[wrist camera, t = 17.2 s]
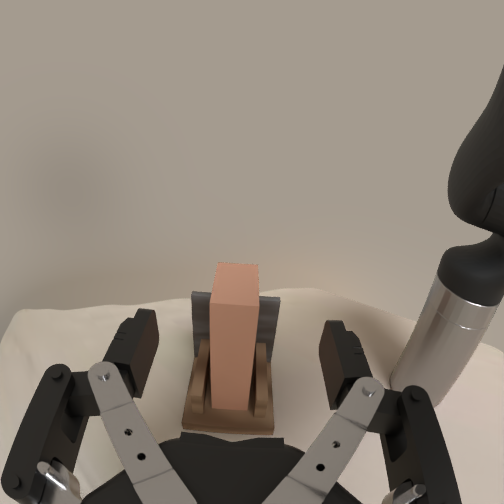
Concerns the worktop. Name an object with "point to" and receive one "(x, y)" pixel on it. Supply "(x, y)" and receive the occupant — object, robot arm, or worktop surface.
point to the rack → (260, 395)
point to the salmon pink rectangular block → (233, 334)
